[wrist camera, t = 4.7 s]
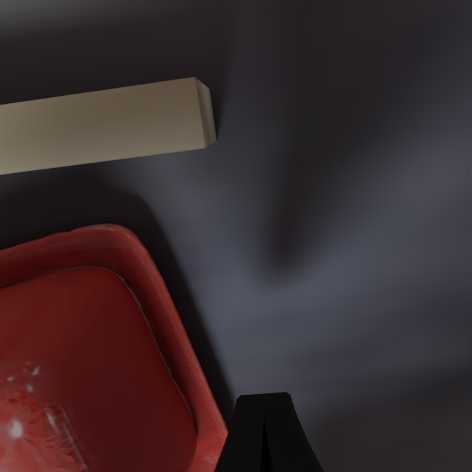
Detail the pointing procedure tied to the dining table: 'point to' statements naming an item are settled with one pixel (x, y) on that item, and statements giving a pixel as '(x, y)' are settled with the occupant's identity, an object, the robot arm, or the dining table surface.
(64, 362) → the butter dish
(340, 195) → the dining table surface
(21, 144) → the bar
